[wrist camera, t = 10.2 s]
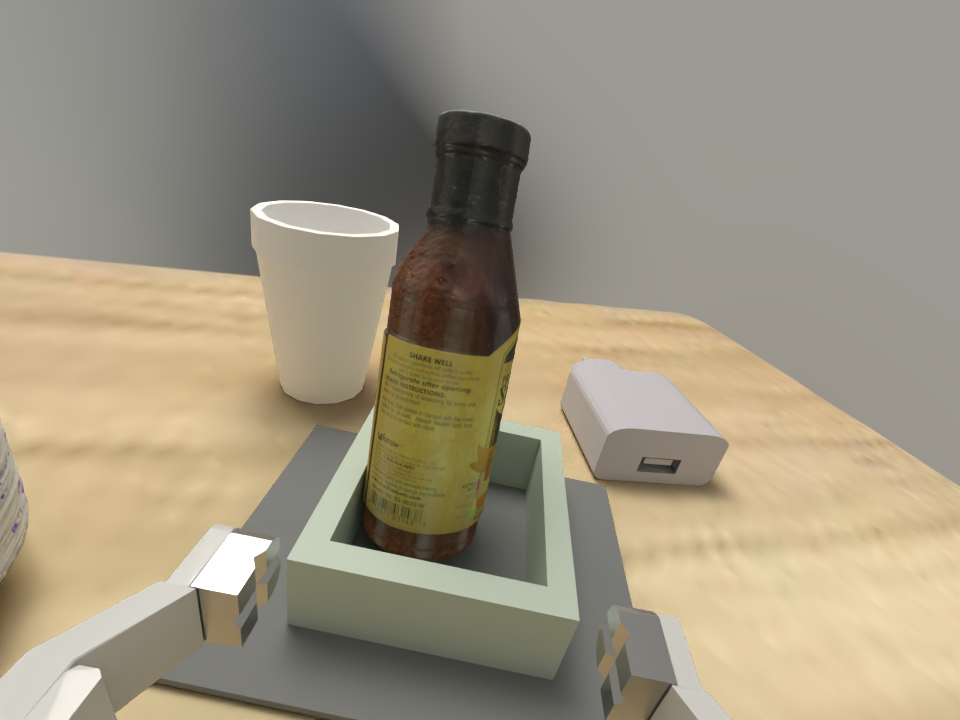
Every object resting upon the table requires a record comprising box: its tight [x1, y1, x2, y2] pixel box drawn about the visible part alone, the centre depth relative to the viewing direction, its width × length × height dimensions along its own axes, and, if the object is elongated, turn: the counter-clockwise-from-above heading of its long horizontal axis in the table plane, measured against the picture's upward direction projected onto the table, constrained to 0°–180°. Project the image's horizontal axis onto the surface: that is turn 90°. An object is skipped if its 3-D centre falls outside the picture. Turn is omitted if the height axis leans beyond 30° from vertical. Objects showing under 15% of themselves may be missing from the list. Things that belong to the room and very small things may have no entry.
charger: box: [561, 356, 729, 486], centre depth 38 cm, size 5×9×15 cm
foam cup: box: [250, 201, 399, 404], centre depth 34 cm, size 10×9×13 cm
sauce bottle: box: [363, 110, 531, 562], centre depth 22 cm, size 6×6×20 cm
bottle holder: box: [286, 405, 580, 680], centre depth 24 cm, size 11×12×4 cm
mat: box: [155, 425, 632, 720], centre depth 24 cm, size 20×16×1 cm
